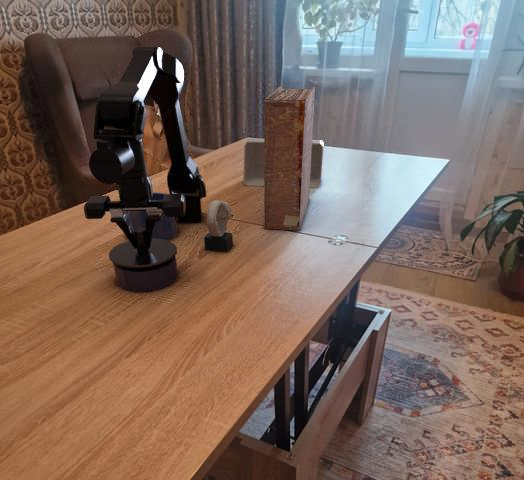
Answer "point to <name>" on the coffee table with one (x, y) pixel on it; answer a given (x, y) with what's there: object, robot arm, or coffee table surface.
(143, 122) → the robot arm
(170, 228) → the pot
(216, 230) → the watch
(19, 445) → the coffee table surface
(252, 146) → the white rounded tray
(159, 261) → the lid
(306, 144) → the book
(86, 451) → the coffee table surface
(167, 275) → the pan
